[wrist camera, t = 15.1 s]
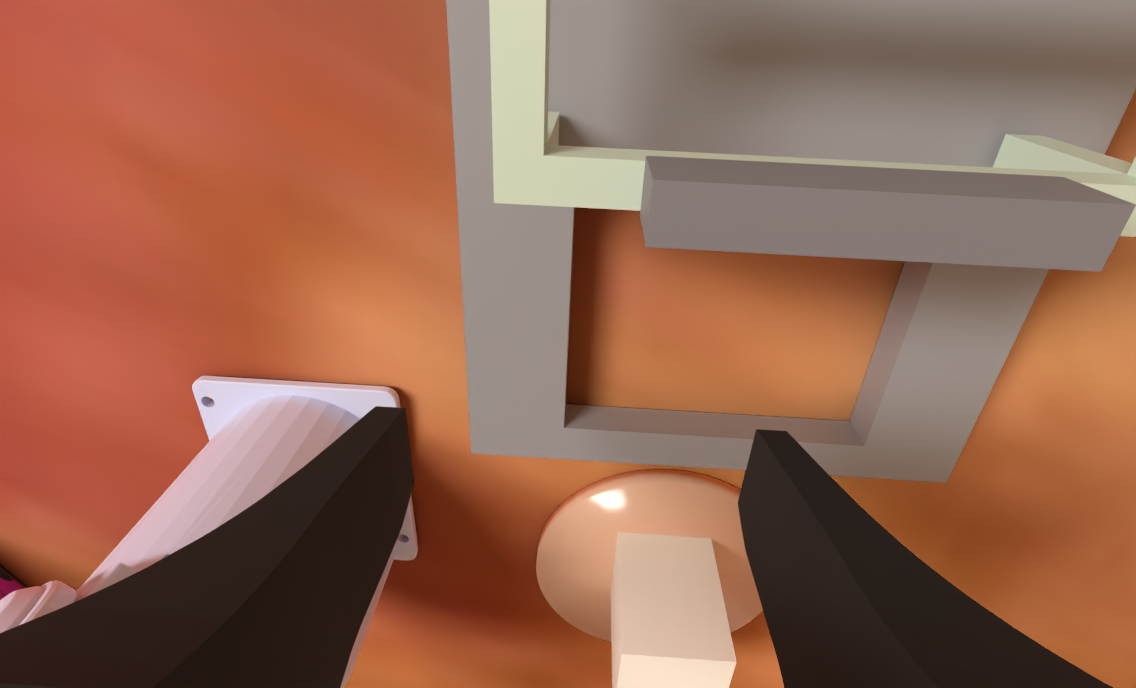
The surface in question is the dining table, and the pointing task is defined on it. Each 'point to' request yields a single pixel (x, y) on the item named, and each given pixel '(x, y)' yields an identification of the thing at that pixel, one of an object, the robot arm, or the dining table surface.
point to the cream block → (668, 614)
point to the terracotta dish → (643, 506)
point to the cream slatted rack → (806, 185)
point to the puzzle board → (784, 129)
